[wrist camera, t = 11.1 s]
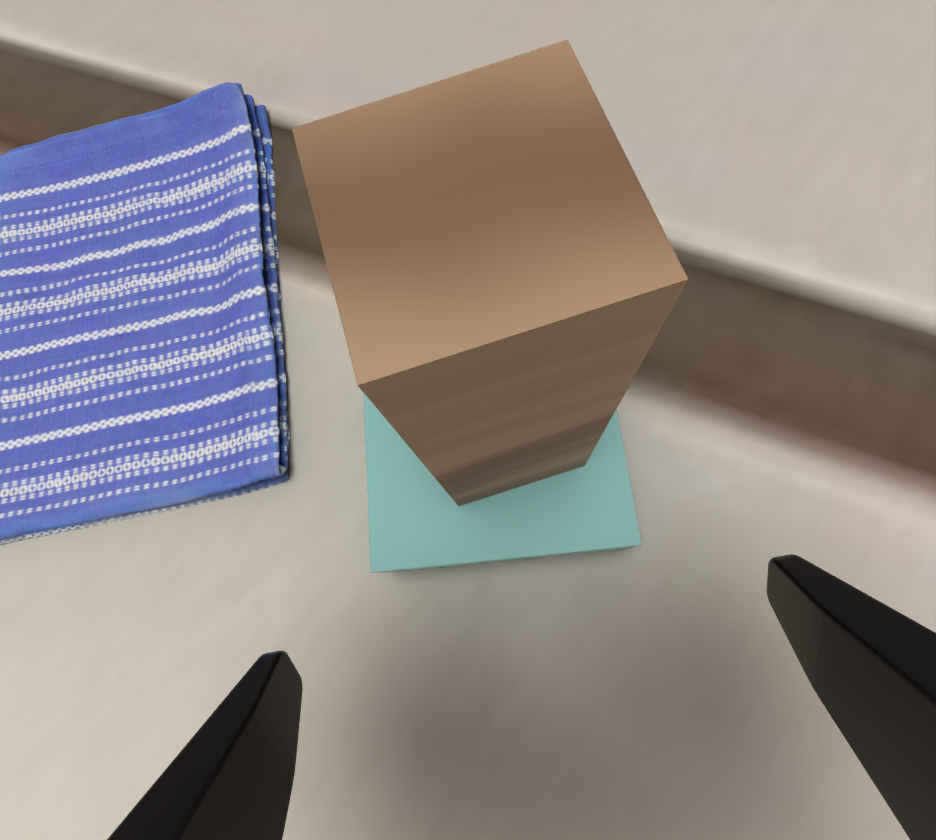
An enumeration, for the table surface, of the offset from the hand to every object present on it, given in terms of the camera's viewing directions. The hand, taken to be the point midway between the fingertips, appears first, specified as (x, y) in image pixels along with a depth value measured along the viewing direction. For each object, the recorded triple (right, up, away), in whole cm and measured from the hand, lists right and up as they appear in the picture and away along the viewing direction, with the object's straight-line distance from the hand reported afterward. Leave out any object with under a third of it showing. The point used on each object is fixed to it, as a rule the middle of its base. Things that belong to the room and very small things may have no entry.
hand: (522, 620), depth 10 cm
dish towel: (-19, +10, +20) cm, 29 cm away
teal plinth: (0, +2, +15) cm, 15 cm away
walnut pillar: (0, +3, +11) cm, 12 cm away
